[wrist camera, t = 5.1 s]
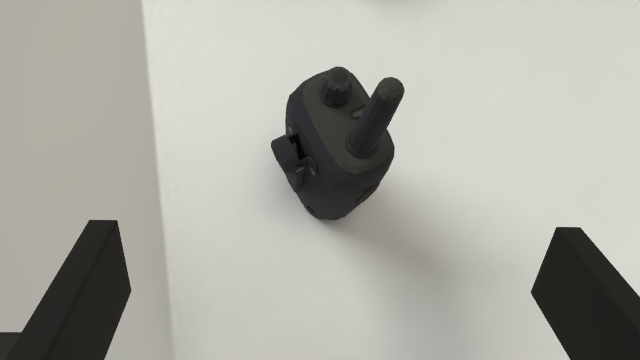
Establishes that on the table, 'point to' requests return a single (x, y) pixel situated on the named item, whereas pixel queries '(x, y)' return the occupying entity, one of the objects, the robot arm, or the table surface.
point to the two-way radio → (337, 141)
